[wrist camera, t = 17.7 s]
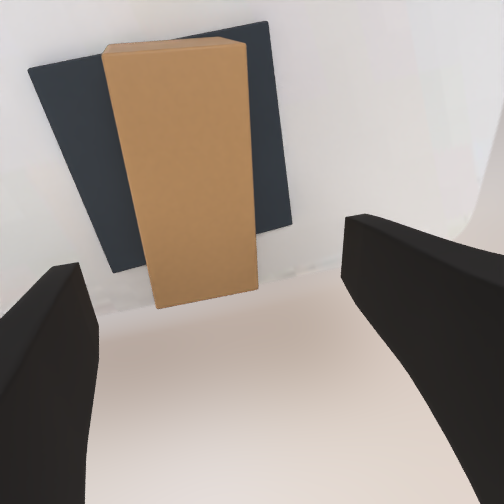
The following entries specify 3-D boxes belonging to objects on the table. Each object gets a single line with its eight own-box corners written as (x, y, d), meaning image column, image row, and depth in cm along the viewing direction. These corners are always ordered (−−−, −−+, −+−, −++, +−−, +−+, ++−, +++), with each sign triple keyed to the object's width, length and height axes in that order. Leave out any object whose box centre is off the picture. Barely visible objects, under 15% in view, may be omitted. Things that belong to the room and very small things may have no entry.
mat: (113, 268, 22) (113, 273, 21) (29, 68, 16) (26, 69, 16) (289, 220, 23) (292, 224, 23) (265, 20, 18) (268, 20, 17)
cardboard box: (236, 242, 22) (259, 289, 18) (151, 257, 21) (156, 310, 18) (220, 36, 17) (246, 42, 13) (106, 44, 16) (100, 53, 12)
